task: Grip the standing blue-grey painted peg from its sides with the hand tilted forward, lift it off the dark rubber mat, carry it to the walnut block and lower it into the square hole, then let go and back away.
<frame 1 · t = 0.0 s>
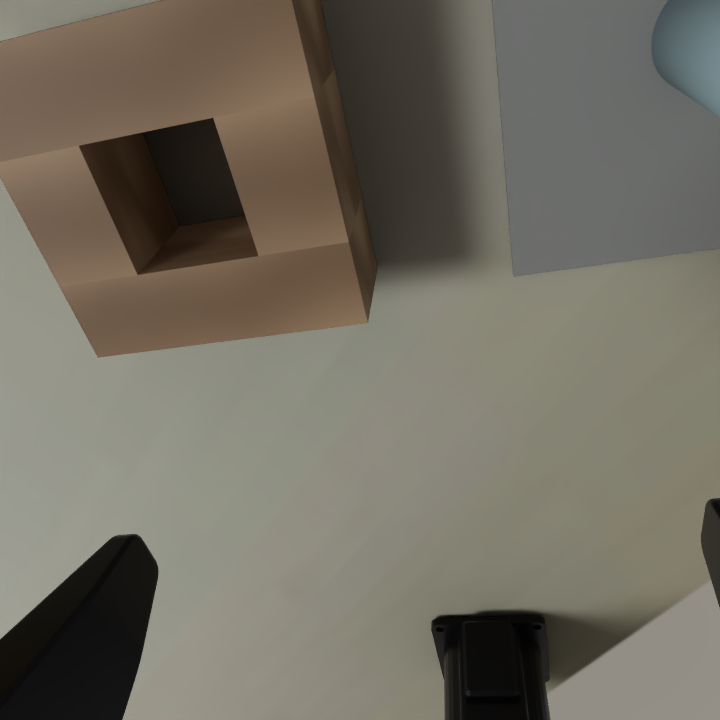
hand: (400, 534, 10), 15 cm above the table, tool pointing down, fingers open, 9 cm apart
hole block: (211, 161, 22), on the table
peg: (710, 31, 18), resting on mat
mat: (706, 30, 18), on the table
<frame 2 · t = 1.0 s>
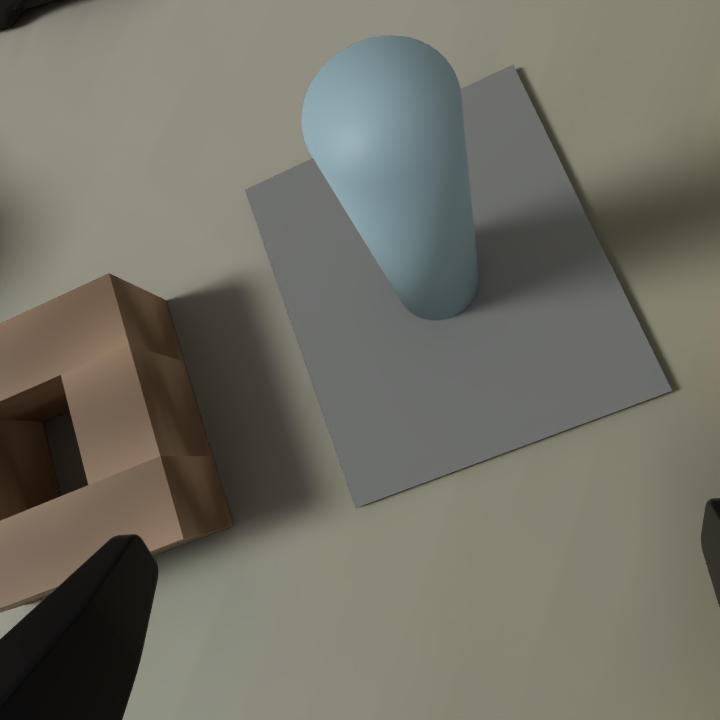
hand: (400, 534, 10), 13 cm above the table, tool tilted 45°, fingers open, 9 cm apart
hole block: (95, 450, 26), on the table
peg: (436, 280, 24), resting on mat
mat: (437, 282, 24), on the table
electric trimmer: (42, 4, 31), on the table
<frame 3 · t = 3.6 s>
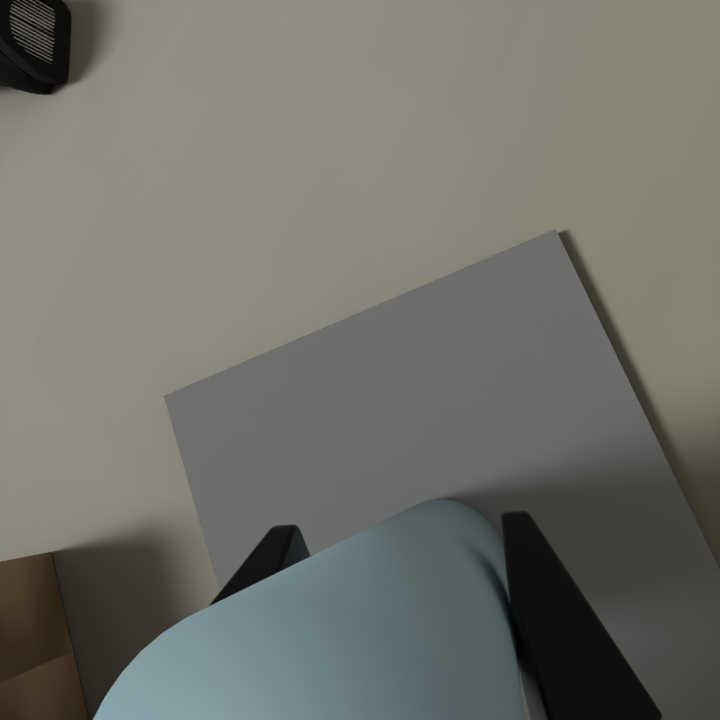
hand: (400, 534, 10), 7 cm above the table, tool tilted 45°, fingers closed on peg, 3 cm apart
peg: (443, 563, 15), resting on mat, touching gripper
mat: (444, 561, 16), on the table
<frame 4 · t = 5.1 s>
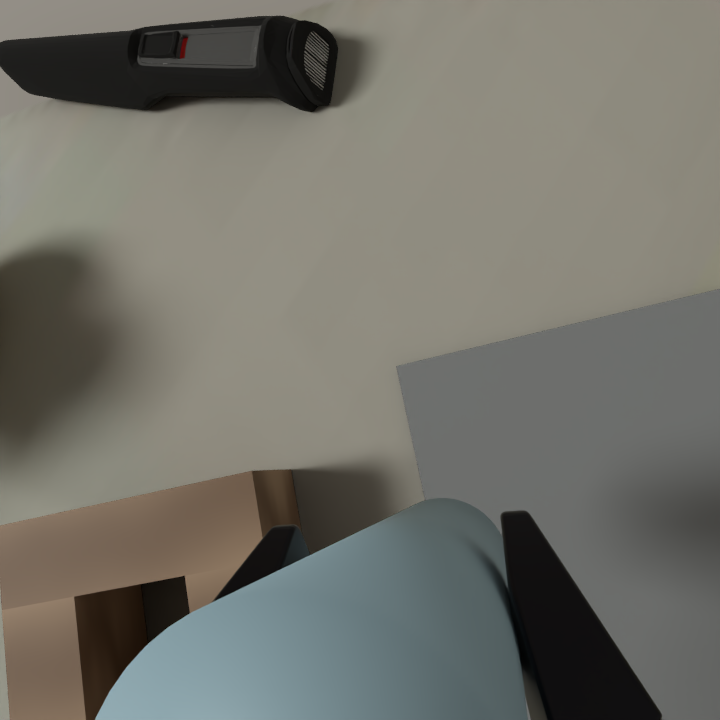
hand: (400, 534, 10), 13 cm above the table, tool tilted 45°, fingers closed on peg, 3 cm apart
hole block: (193, 621, 24), on the table
peg: (444, 562, 15), point 7 cm above the table, touching gripper
mat: (604, 519, 21), on the table
electric trimmer: (185, 88, 29), on the table
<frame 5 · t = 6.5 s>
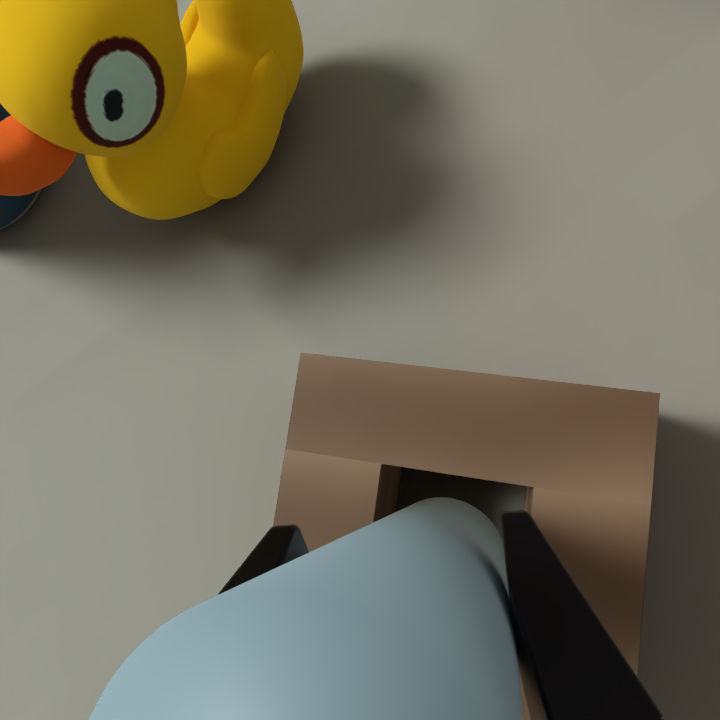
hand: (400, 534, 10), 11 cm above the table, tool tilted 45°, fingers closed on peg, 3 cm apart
hole block: (455, 535, 20), on the table
peg: (443, 561, 15), point 5 cm above the table, touching gripper
duckling: (225, 162, 25), on the table
when the fingers open (8 cm above the table, at t = 7.4 s): peg drops 2 cm, resting in hole block.
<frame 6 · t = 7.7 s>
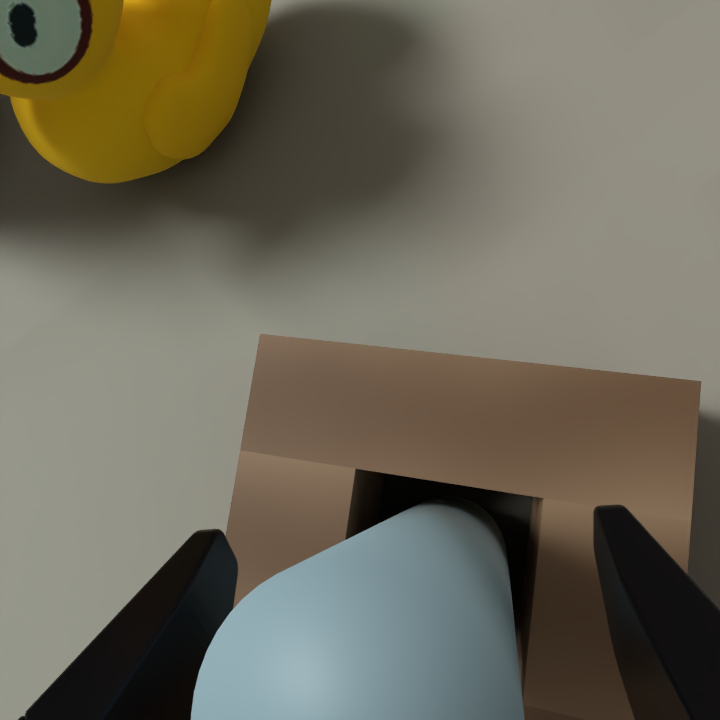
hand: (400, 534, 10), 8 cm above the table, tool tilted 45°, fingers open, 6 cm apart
hole block: (448, 553, 17), on the table
peg: (448, 554, 17), resting in hole block
duckling: (186, 122, 22), on the table
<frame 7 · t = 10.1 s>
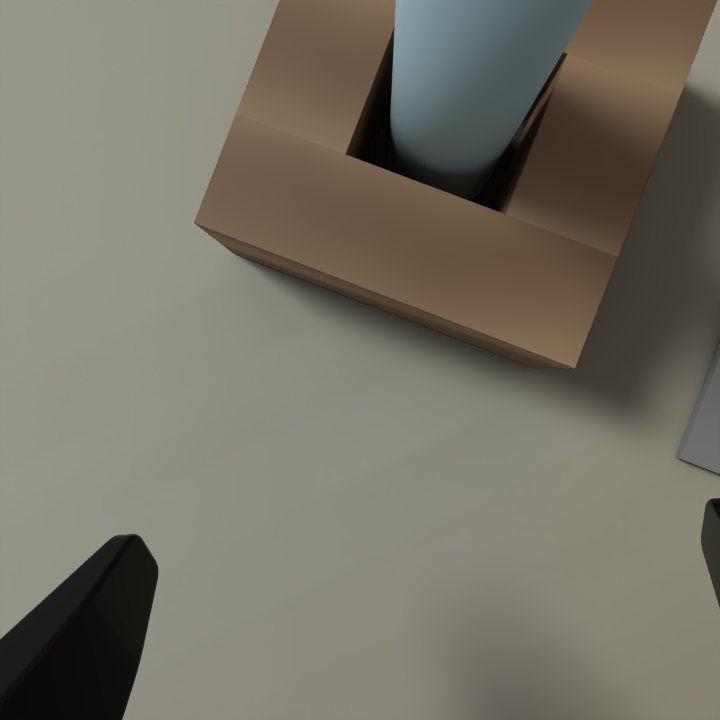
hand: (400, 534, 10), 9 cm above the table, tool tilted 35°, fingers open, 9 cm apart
hole block: (439, 159, 19), on the table
peg: (439, 160, 19), resting in hole block
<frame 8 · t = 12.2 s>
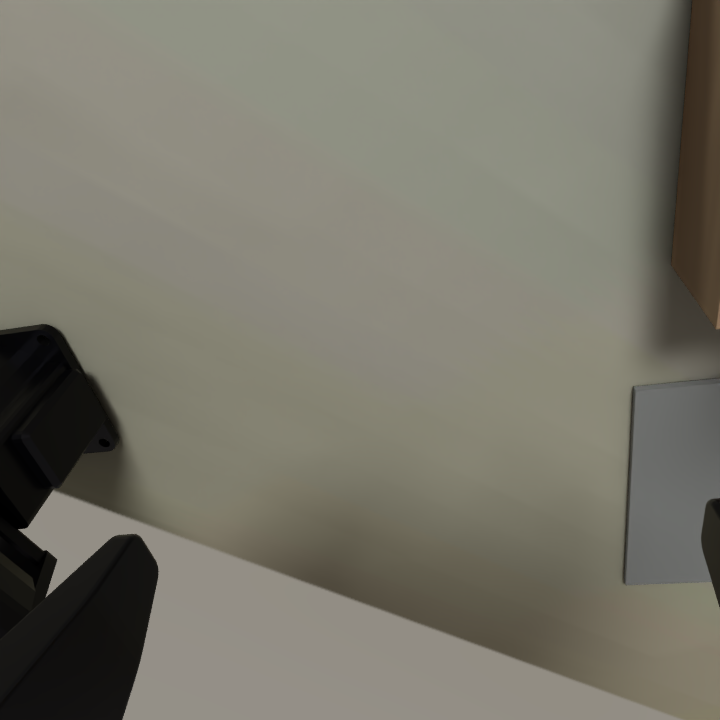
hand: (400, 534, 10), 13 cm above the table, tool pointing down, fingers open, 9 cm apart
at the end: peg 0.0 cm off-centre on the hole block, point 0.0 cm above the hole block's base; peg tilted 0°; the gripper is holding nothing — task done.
